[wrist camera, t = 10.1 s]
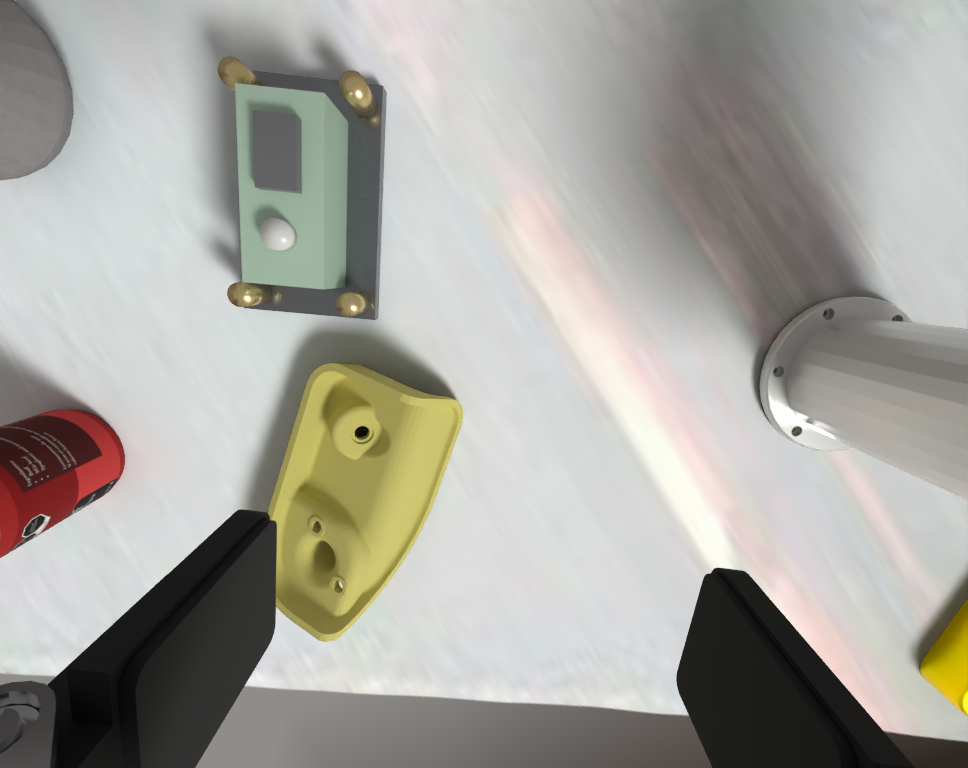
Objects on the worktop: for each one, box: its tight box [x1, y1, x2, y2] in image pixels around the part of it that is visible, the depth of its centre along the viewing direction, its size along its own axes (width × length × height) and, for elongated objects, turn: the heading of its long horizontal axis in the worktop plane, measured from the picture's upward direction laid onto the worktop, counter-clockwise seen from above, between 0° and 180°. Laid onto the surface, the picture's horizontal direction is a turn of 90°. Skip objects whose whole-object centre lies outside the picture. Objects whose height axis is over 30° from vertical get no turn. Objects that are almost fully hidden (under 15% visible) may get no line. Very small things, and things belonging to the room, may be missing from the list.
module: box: [235, 83, 348, 289], centre depth 29 cm, size 5×11×6 cm, turn 175°
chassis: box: [218, 57, 386, 320], centre depth 31 cm, size 10×16×4 cm, turn 175°
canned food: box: [0, 410, 125, 558], centre depth 31 cm, size 8×8×11 cm
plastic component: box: [268, 363, 463, 642], centre depth 36 cm, size 20×7×10 cm
